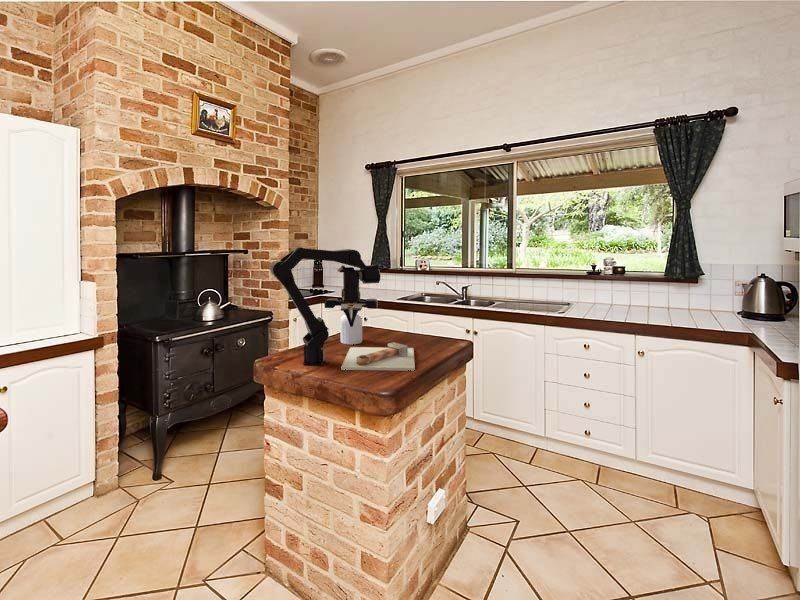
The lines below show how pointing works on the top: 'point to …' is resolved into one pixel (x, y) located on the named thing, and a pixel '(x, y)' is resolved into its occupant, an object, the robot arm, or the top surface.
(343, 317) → the soap bottle
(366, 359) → the link
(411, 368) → the base board
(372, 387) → the top surface
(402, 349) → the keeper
